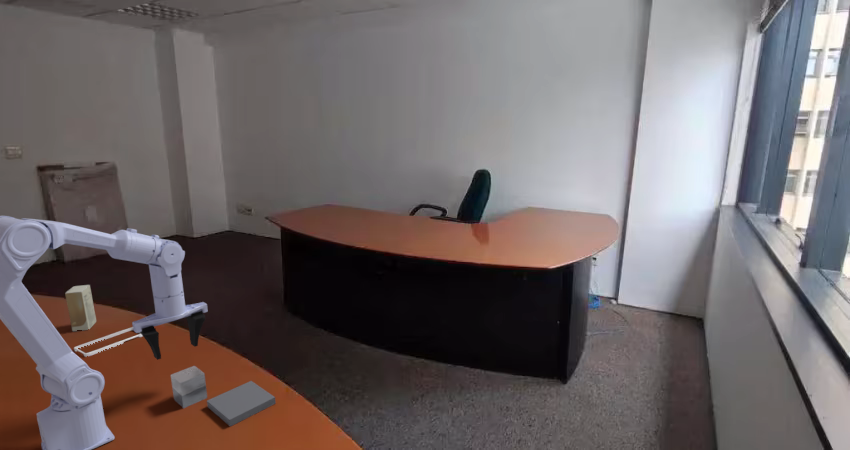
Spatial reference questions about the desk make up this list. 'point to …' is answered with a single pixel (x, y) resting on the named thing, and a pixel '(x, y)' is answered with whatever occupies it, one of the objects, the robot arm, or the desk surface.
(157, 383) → the desk surface
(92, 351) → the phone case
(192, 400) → the block
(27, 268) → the robot arm
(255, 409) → the stand
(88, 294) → the skincare box
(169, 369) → the desk surface
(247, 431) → the desk surface
